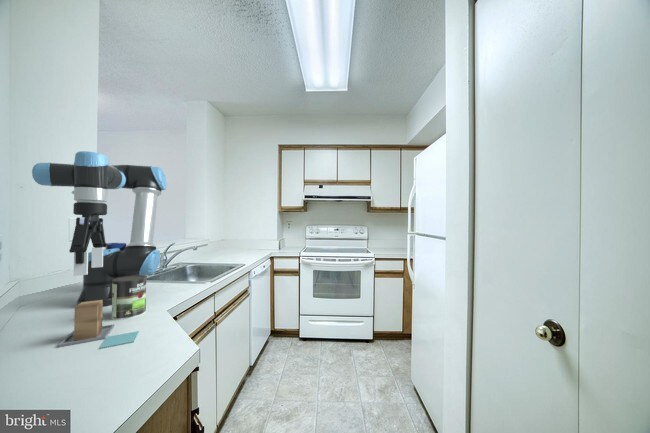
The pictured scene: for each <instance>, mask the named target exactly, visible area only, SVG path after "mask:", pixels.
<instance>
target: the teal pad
mask: <svg viewBox="0 0 650 433" xmlns="http://www.w3.org/2000/svg"><path fill="white" fill-rule="evenodd" d="M139 331H140V330H137V331H133V332H132V331H131V332H126V333H120V334H115V335H108V336H107V337H106V338H105V339H104V341H103V342H102V343H101V345H100V346H99V350H102V349H107V348H112V347H118V346H124V345H127V344H132V343H135V340H136V339H137V337H138V334H139Z"/></svg>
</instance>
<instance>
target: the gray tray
mask: <svg viewBox="0 0 650 433" xmlns="http://www.w3.org/2000/svg"><path fill="white" fill-rule="evenodd" d="M114 328H115V324H114V323H113V324H107V325H102V332H101V333H100V334H99V335H98V337H96V338H91V339H85V340H79V341H74V330H73V331H72V332H70V334H68V335H67V336H66V337H65V338H63V339H62V341H61V342H60V343H58V345H57V348H59V349H60V348H65V347H70V346H74V345H80V344H86V343H91V342H96V341H97V342H98V341H102V340H106V338H107V337H108V336H109V334H110V333H111V332H112V330H113V329H114Z"/></svg>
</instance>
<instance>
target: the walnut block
mask: <svg viewBox="0 0 650 433" xmlns="http://www.w3.org/2000/svg"><path fill="white" fill-rule="evenodd" d="M103 307H104V306H103V300H96V301H88V302H81V303H80V304H78V305H77V304H76V306H74V319H73V320H74V324H73V326H74V328H73V331H74V341H79V340H85V339H91V338H96V337H98V335H99V334H100V333H101V332H102V326H103Z"/></svg>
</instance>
